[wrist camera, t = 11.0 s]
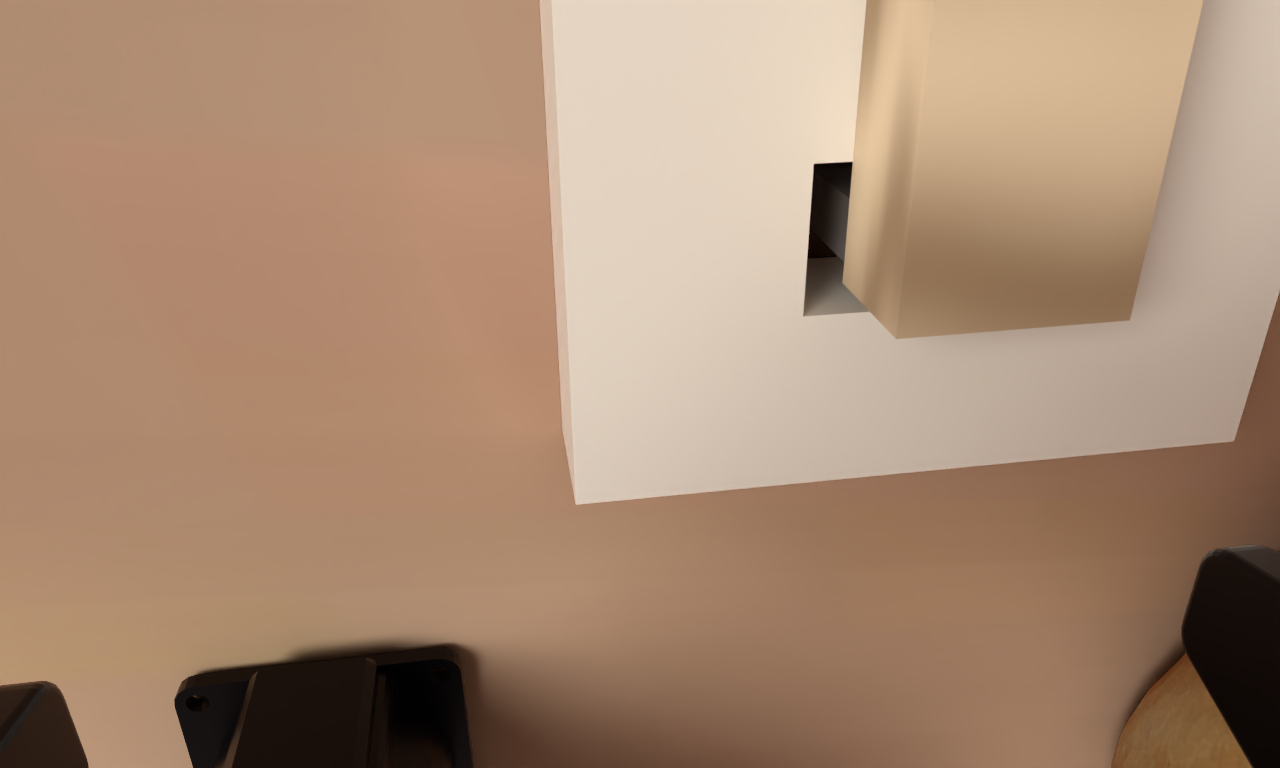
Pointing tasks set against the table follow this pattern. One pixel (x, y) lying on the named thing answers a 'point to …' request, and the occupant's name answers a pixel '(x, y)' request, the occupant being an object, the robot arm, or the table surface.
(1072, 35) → the tan elongated block
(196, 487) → the table surface
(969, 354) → the white slotted block
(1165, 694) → the bread roll
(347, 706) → the robot arm
